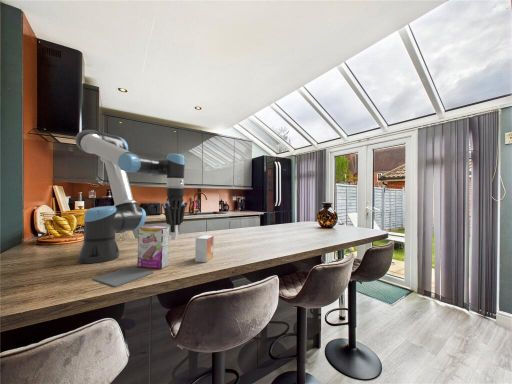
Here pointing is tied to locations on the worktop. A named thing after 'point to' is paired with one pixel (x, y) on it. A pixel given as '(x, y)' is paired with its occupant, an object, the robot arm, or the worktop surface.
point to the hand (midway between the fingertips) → (174, 239)
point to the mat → (122, 276)
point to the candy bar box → (153, 247)
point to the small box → (204, 248)
